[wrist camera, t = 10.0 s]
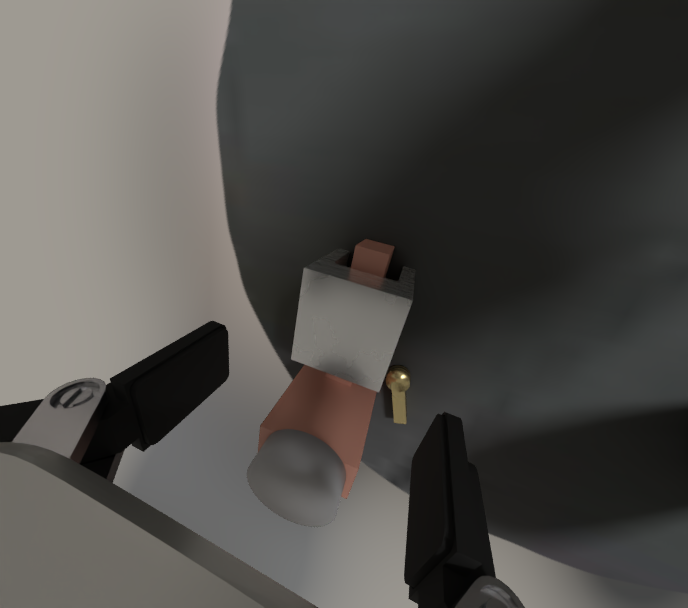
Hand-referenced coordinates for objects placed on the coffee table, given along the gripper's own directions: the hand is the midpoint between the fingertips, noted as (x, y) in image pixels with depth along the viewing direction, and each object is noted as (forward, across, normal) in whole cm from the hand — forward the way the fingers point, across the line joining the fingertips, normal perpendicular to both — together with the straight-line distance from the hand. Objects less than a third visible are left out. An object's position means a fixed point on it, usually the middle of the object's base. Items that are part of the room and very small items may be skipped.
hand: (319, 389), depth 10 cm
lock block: (+12, +1, +1) cm, 13 cm away
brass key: (+12, -5, +10) cm, 17 cm away
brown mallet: (+12, +1, +4) cm, 13 cm away
